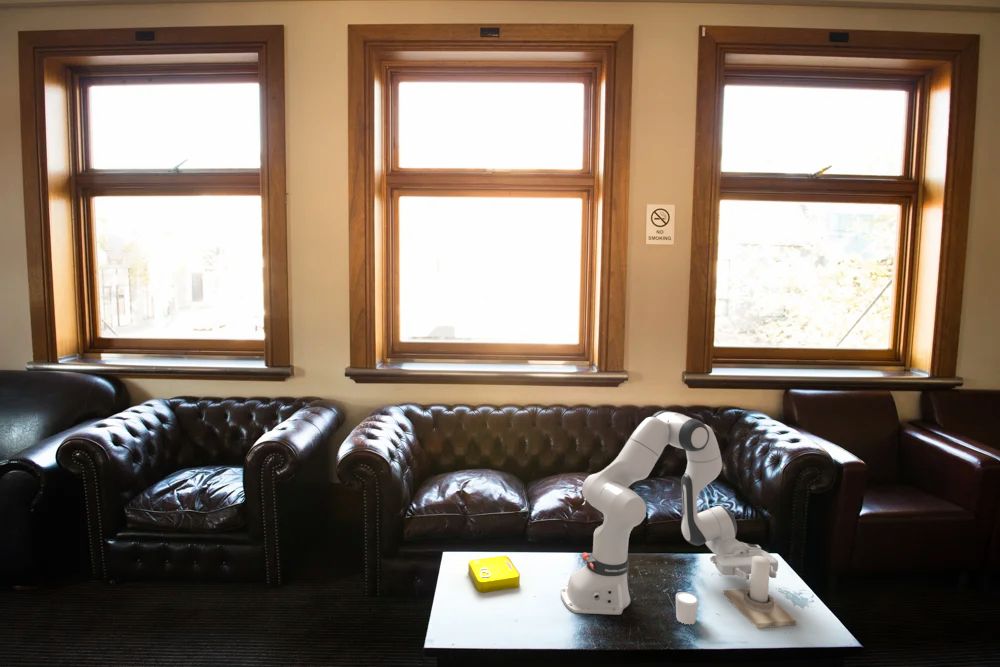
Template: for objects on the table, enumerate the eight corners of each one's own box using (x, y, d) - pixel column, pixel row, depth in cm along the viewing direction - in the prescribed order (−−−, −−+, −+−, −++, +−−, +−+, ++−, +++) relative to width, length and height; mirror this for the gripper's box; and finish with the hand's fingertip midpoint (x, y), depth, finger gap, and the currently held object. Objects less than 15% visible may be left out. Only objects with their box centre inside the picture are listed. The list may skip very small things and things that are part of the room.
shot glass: (694, 613, 173) (695, 592, 172) (700, 627, 166) (701, 605, 165) (672, 611, 173) (673, 590, 173) (676, 625, 166) (678, 603, 166)
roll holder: (757, 628, 166) (758, 615, 166) (723, 594, 184) (724, 583, 183) (795, 624, 168) (796, 612, 168) (758, 591, 186) (759, 580, 185)
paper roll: (755, 610, 173) (758, 564, 171) (745, 600, 178) (748, 556, 176) (770, 608, 174) (773, 563, 172) (760, 598, 179) (763, 555, 177)
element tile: (521, 588, 185) (521, 574, 184) (478, 595, 180) (478, 581, 180) (507, 565, 199) (507, 553, 199) (466, 571, 194) (467, 558, 194)
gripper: (708, 548, 186) (731, 569, 172) (762, 544, 189) (790, 565, 176) (706, 565, 187) (730, 588, 173) (761, 562, 190) (788, 584, 177)
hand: (761, 576), depth 175 cm, fingers open, 8 cm apart
